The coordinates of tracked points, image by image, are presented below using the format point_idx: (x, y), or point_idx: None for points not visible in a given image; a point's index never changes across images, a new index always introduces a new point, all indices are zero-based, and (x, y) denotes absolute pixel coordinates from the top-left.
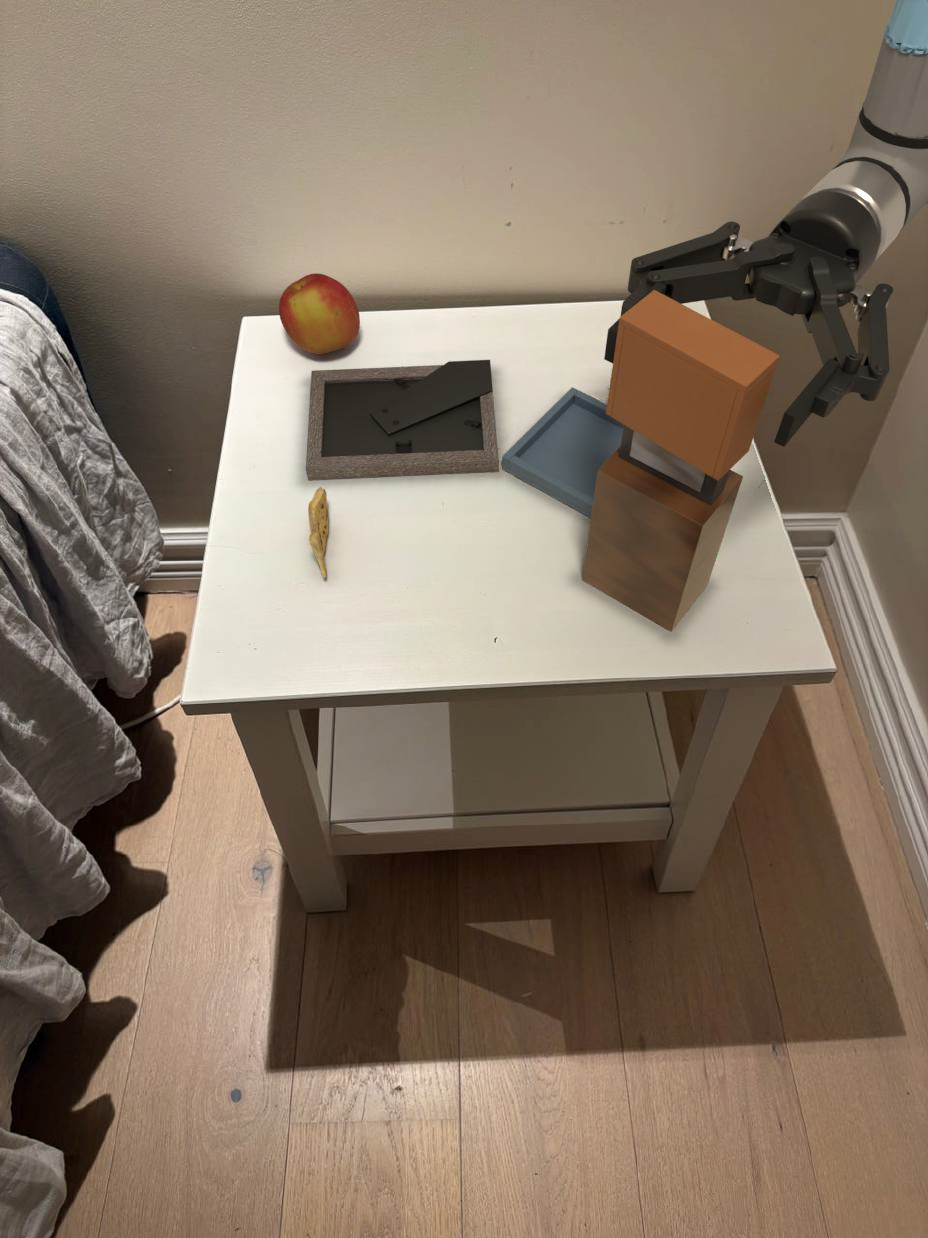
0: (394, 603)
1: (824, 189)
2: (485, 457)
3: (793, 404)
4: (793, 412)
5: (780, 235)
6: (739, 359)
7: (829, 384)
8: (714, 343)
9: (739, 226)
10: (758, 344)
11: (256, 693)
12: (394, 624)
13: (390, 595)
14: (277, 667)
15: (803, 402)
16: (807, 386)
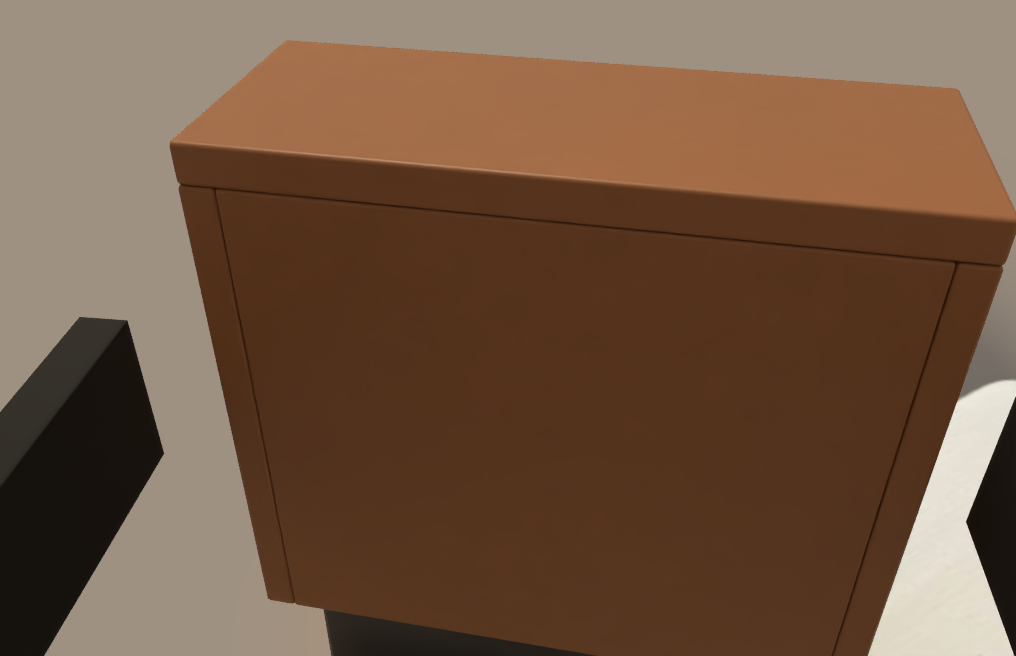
0: (963, 614)
1: None
2: None
3: (87, 361)
4: (86, 333)
5: None
6: (353, 91)
7: None
8: (494, 104)
9: None
10: (290, 148)
11: (957, 402)
12: (917, 578)
13: (988, 625)
14: (980, 440)
15: (39, 385)
16: (13, 461)
